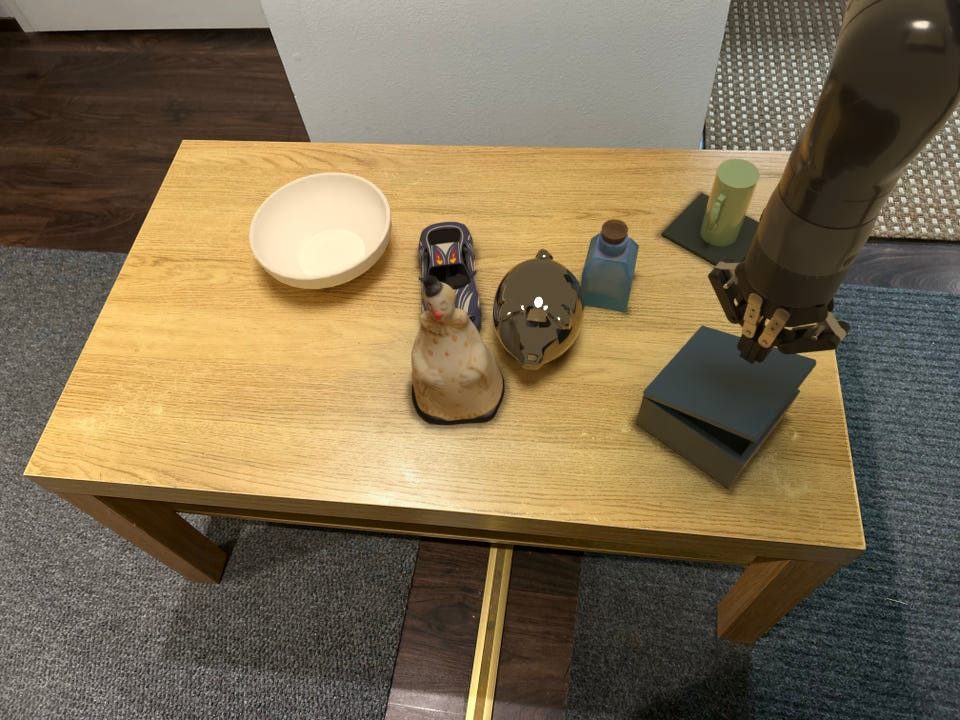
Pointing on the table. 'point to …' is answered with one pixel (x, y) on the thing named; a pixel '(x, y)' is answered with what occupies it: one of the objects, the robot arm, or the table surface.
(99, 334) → the table surface
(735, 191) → the pale green cylinder
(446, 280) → the toy car
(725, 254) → the mat
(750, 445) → the box
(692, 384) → the lid
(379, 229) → the bowl
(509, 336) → the piggy bank
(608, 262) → the perfume bottle
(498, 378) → the figurine
